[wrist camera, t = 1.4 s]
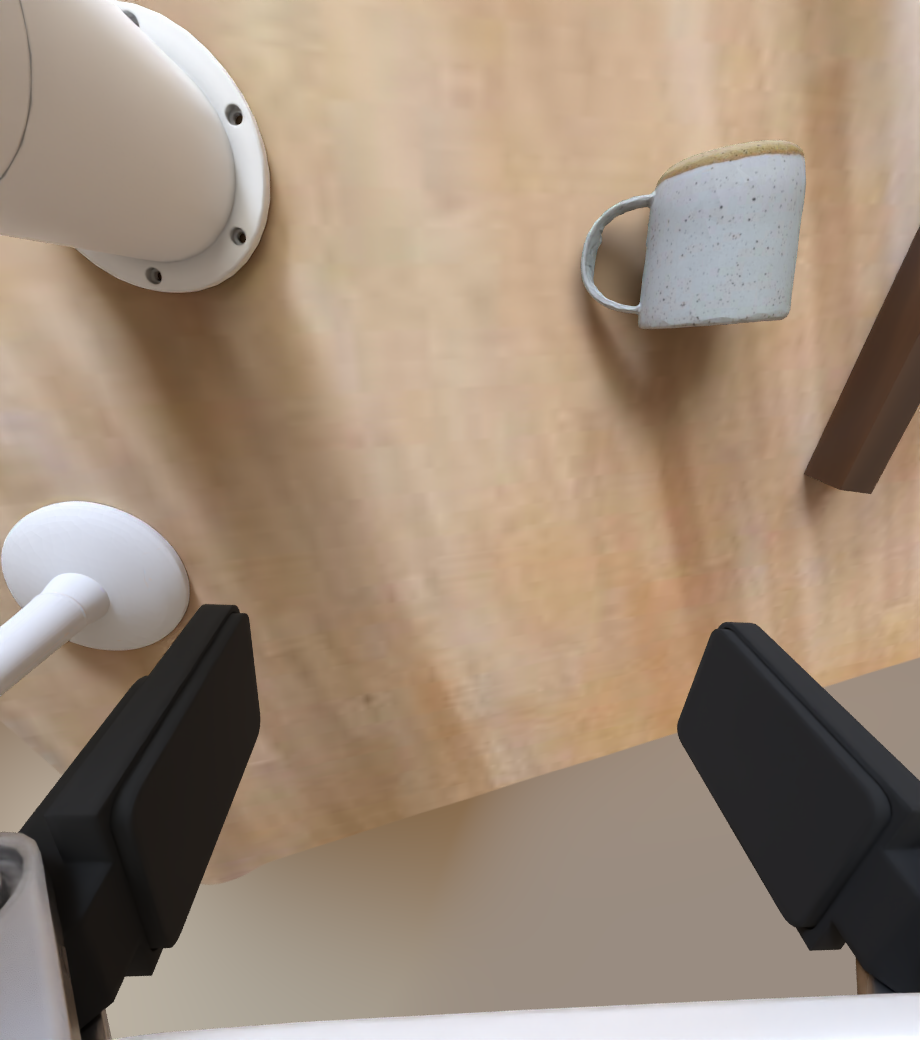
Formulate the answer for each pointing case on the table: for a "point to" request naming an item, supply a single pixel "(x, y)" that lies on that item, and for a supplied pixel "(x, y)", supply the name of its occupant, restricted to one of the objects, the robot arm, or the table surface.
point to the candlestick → (86, 584)
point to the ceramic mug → (716, 238)
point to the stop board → (876, 391)
